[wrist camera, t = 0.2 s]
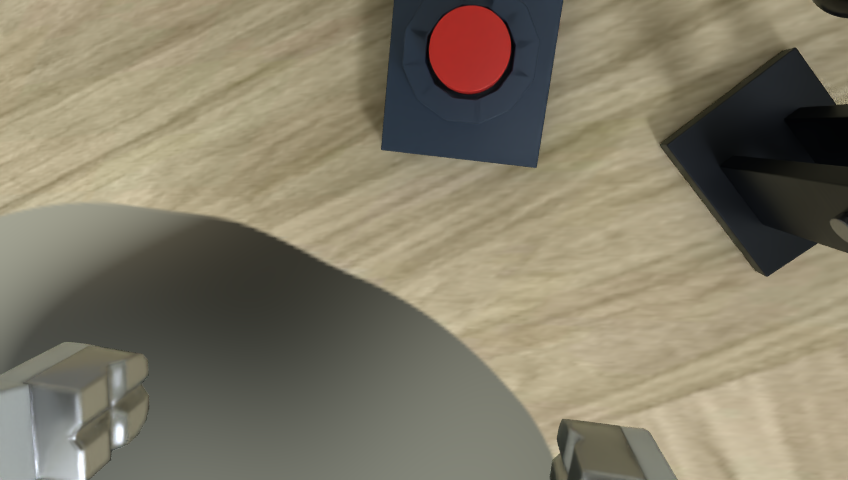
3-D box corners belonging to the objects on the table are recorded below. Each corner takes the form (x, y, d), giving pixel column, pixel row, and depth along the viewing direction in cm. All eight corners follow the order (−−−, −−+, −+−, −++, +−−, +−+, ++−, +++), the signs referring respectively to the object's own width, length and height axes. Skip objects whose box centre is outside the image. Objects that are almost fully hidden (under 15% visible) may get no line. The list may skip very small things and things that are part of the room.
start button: (436, 9, 25) (433, 1, 24) (514, 17, 25) (516, 8, 24) (427, 90, 26) (424, 87, 25) (502, 98, 26) (504, 96, 24)
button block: (404, -46, 28) (393, -73, 24) (563, -32, 28) (577, -58, 24) (387, 148, 31) (374, 151, 27) (532, 165, 30) (540, 170, 26)
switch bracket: (658, 144, 29) (777, 154, 18) (782, 50, 28) (1002, -7, 16) (755, 271, 30) (926, 358, 19) (880, 188, 29) (1153, 228, 17)
